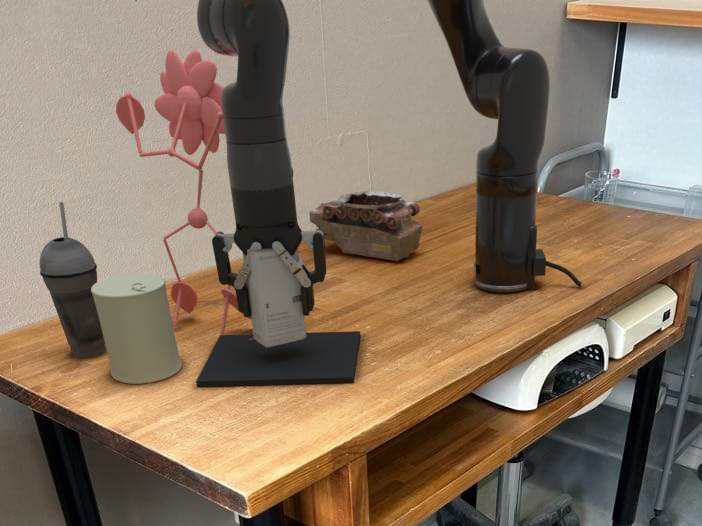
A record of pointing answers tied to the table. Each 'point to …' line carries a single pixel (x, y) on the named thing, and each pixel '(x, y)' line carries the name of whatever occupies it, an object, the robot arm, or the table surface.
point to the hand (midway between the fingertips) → (277, 314)
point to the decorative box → (370, 224)
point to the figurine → (185, 141)
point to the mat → (282, 361)
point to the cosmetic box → (274, 299)
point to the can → (137, 327)
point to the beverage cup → (73, 292)
